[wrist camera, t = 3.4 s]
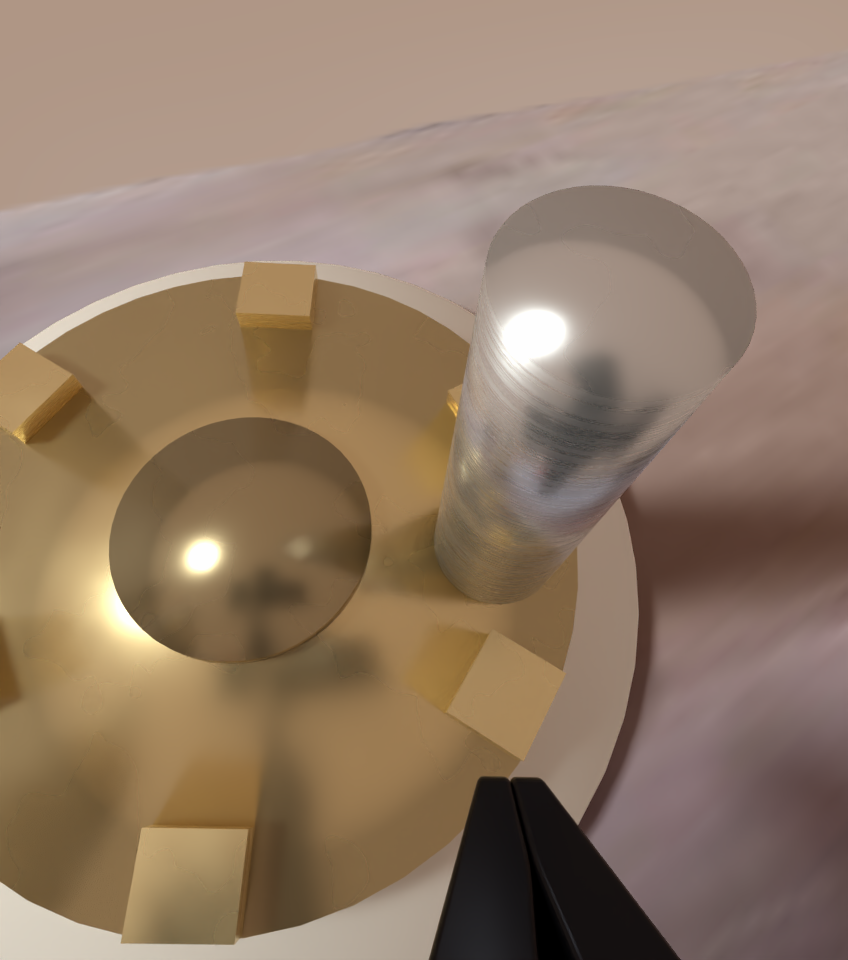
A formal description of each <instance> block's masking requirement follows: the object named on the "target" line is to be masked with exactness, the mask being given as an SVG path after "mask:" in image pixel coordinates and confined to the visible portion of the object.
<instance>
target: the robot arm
mask: <svg viewBox="0 0 848 960" xmlns="http://www.w3.org/2000/svg"><path fill="white" fill-rule="evenodd" d="M429 960H681V959H680V958H679V957H678V956H677V954H676V953H675V952H674V950H673V949H672V948H671V946H670V945H669V944H668V942H667V941H666V940H665V938H664V937H663V936H662V935H661V933H660V932H659V931H658V929H657V928H656V927H655V925H654V924H653V923H652V921H651V920H650V919H649V918H648V916H647V915H646V914H645V912H644V911H643V910H642V908H641V907H640V906H639V904H638V903H637V902H636V901H635V899H634V898H633V897H632V895H631V894H630V893H629V891H628V890H627V889H626V887H625V886H624V885H623V884H622V882H621V881H620V880H619V878H618V877H617V876H616V874H615V873H614V872H613V870H612V869H611V868H610V867H609V865H608V864H607V863H606V861H605V860H604V859H603V857H602V856H601V855H600V853H599V852H598V851H597V850H596V848H595V847H594V846H593V844H592V843H591V842H590V840H589V839H588V838H587V836H586V835H585V834H584V833H583V831H582V830H581V829H580V827H579V826H578V825H577V823H576V822H575V821H574V819H573V818H572V817H571V816H570V814H569V813H568V812H567V810H566V809H565V808H564V806H563V805H562V804H561V802H560V801H559V800H558V799H557V797H556V796H555V795H554V793H553V792H552V791H551V789H550V788H549V787H548V785H547V784H546V783H545V782H544V781H543V780H542V779H541V778H538V777H513V778H512V779H511V780H510V781H509V779H508V778H507V777H504V776H481V777H479V779H478V780H477V783H476V787H475V791H474V794H473V798H472V802H471V805H470V809H469V813H468V816H467V820H466V824H465V827H464V831H463V835H462V838H461V842H460V846H459V850H458V853H457V857H456V861H455V864H454V868H453V872H452V875H451V879H450V883H449V886H448V890H447V894H446V897H445V901H444V905H443V908H442V912H441V916H440V919H439V923H438V927H437V931H436V934H435V938H434V942H433V945H432V949H431V953H430V956H429Z"/></svg>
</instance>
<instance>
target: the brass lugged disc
mask: <svg viewBox="0 0 848 960" xmlns="http://www.w3.org/2000/svg"><path fill="white" fill-rule="evenodd" d="M755 322H756V300H755V294H754V289H753V286H752V283H751V280H750V277H749V275H748V273H747V271H746V269H745V267H744V265H743V263H742V261H741V260H740V258H739V257H738V255H737V254H736V252H735V251H734V249H733V248H732V247H731V246H730V245H729V243H728V242H727V241H726V240H725V239H724V238H723V237H722V236H721V235H720V234H719V233H718V232H717V231H716V230H715V229H714V228H713V227H711V226H710V225H709V224H707V223H706V222H705V221H703V220H702V219H701V218H700V217H698V216H696V215H695V214H693V213H692V212H690V211H688V210H687V209H685V208H683V207H681V206H679V205H677V204H675V203H673V202H671V201H669V200H666V199H663V198H661V197H658V196H656V195H653V194H649V193H646V192H642V191H639V190H634V189H628V188H623V187H614V186H581V187H572V188H567V189H562V190H558V191H555V192H552V193H549V194H545V195H543V196H541V197H539V198H537V199H534V200H532V201H531V202H529V203H527V204H526V205H524V206H522V207H521V208H519V209H518V210H517V211H516V212H515V213H513V214H512V215H511V216H510V217H509V218H508V219H507V220H506V221H505V222H504V224H503V225H502V226H501V227H500V229H499V230H498V232H497V233H496V235H495V236H494V238H493V241H492V243H491V245H490V248H489V250H488V255H487V259H486V263H485V269H484V274H483V279H482V284H481V290H480V295H479V300H478V306H477V311H476V316H475V322H474V327H473V332H472V338H471V343H470V344H469V343H467V342H466V341H465V340H464V339H462V338H461V337H460V336H458V335H457V334H456V333H454V332H453V331H452V330H450V329H449V328H447V327H445V326H444V325H442V324H440V323H439V322H437V321H435V320H434V319H432V318H430V317H428V316H427V315H425V314H423V313H422V312H420V311H418V310H416V309H413V308H411V307H409V306H407V305H404V304H402V303H400V302H398V301H395V300H393V299H391V298H389V297H386V296H383V295H380V294H376V293H373V292H370V291H367V290H364V289H361V288H358V287H355V286H350V285H345V284H340V283H335V282H330V281H326V280H321V279H318V276H317V270H316V265H302V264H282V263H261V262H245V263H244V268H243V274H242V276H241V277H231V278H221V279H211V280H206V281H201V282H196V283H191V284H186V285H181V286H177V287H172V288H169V289H166V290H163V291H159V292H156V293H153V294H150V295H146V296H143V297H140V298H137V299H134V300H132V301H130V302H127V303H125V304H122V305H120V306H118V307H115V308H113V309H110V310H108V311H105V312H103V313H101V314H99V315H97V316H95V317H93V318H92V319H90V320H88V321H86V322H84V323H82V324H80V325H78V326H77V327H75V328H73V329H71V330H69V331H67V332H66V333H64V334H63V335H61V336H60V337H58V338H57V339H55V340H54V341H52V342H51V343H49V344H48V345H46V346H45V347H43V348H42V349H40V350H39V351H37V352H35V351H33V350H32V349H30V348H28V347H27V346H25V345H23V344H22V343H19V344H18V345H17V346H16V347H15V348H13V349H12V350H11V351H10V352H9V353H8V354H7V355H6V356H5V357H4V358H2V359H1V360H0V882H1V883H3V884H4V885H6V886H7V887H9V888H10V889H11V890H13V891H14V892H16V893H17V894H19V895H20V896H22V897H23V898H25V899H26V900H28V901H30V902H32V903H34V904H36V905H38V906H41V907H43V908H45V909H47V910H49V911H52V912H54V913H56V914H58V915H60V916H63V917H65V918H67V919H69V920H72V921H74V922H76V923H79V924H83V925H87V926H90V927H94V928H98V929H102V930H106V931H110V932H113V933H117V934H121V935H122V938H121V944H206V945H235V944H236V942H237V941H238V940H239V939H240V938H247V937H252V936H256V935H261V934H265V933H270V932H274V931H279V930H283V929H288V928H292V927H297V926H301V925H304V924H306V923H309V922H311V921H314V920H317V919H319V918H322V917H324V916H327V915H330V914H332V913H335V912H338V911H340V910H343V909H345V908H348V907H351V906H353V905H355V904H357V903H359V902H361V901H362V900H364V899H366V898H368V897H370V896H371V895H373V894H375V893H377V892H379V891H380V890H382V889H384V888H386V887H388V886H389V885H391V884H393V883H395V882H397V881H398V880H400V879H402V878H404V877H405V876H406V875H408V874H409V873H410V872H412V871H413V870H414V869H416V868H417V867H418V866H420V865H421V864H422V863H424V862H425V861H426V860H428V859H429V858H430V857H432V856H433V855H434V854H436V853H437V852H438V851H440V850H441V849H442V848H444V847H445V846H446V845H448V844H449V843H450V842H451V841H452V840H453V839H454V838H455V837H456V836H457V835H458V834H459V833H460V832H461V831H462V830H463V829H464V827H465V824H466V820H467V816H468V813H469V809H470V805H471V802H472V798H473V794H474V791H475V787H476V783H477V780H478V779H479V777H481V776H504V777H507V778H508V777H509V776H510V775H511V773H512V772H513V771H514V769H515V768H516V767H517V766H518V764H519V762H520V761H524V760H525V758H526V755H527V753H528V751H529V749H530V747H531V745H532V743H533V741H534V739H535V737H536V735H537V733H538V731H539V729H540V727H541V724H542V722H543V720H544V718H545V716H546V714H547V712H548V710H549V708H550V706H551V704H552V702H553V700H554V698H555V696H556V694H557V691H558V689H559V687H560V685H561V683H562V681H563V679H564V677H565V675H566V673H565V672H563V668H564V664H565V660H566V656H567V653H568V649H569V645H570V641H571V637H572V633H573V626H574V618H575V609H576V601H577V592H578V562H577V546H578V545H579V544H580V543H581V541H582V540H583V539H584V538H585V537H586V536H587V535H588V533H589V532H590V531H591V530H592V529H593V528H594V526H595V525H596V524H597V523H598V522H599V521H600V520H601V518H602V517H603V516H604V515H605V514H606V513H607V512H608V510H609V509H610V508H611V507H612V506H613V505H614V504H615V502H616V501H617V500H618V499H619V498H620V497H621V495H622V494H623V493H624V492H625V491H626V490H627V489H628V487H629V486H630V485H631V484H632V483H633V482H634V481H635V479H636V478H637V477H638V476H639V475H640V474H641V472H642V471H643V470H644V469H645V468H646V467H647V466H648V464H649V463H650V462H651V461H652V460H653V459H654V458H655V456H656V455H657V454H658V453H659V452H660V451H661V450H662V448H663V447H664V446H665V445H666V444H667V443H668V441H669V440H670V439H671V438H672V437H673V436H674V435H675V433H676V432H677V431H678V430H679V429H680V428H681V427H682V425H683V424H684V423H685V422H686V421H687V420H688V418H689V417H690V416H691V415H692V414H693V413H694V412H695V410H696V409H697V408H698V407H699V406H700V405H701V404H702V402H703V401H704V400H705V399H706V398H707V397H708V396H709V394H710V393H711V392H712V391H713V390H714V389H715V387H716V386H717V385H718V384H719V383H720V382H721V381H722V379H723V378H724V377H725V376H726V375H727V374H728V373H729V371H730V370H731V369H732V368H733V367H734V366H735V364H736V363H737V362H738V361H739V360H740V358H741V357H742V356H743V354H744V353H745V351H746V349H747V347H748V346H749V344H750V341H751V338H752V335H753V333H754V328H755Z"/></svg>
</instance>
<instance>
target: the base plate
mask: <svg viewBox="0 0 848 960" xmlns="http://www.w3.org/2000/svg"><path fill="white" fill-rule="evenodd" d="M254 262H261V263H282V264H302V265H316V270H317V276H318V279H321V280H326V281H330V282H335V283H340V284H345V285H350V286H355V287H358V288H361V289H364V290H367V291H370V292H373V293H376V294H380V295H383V296H386V297H389V298H391V299H393V300H395V301H398V302H400V303H402V304H404V305H407V306H409V307H411V308H413V309H416V310H418V311H420V312H422V313H423V314H425V315H427V316H428V317H430V318H432V319H434V320H435V321H437V322H439V323H440V324H442V325H444V326H445V327H447V328H449V329H450V330H452V331H453V332H454V333H456V334H457V335H458V336H460V337H461V338H462V339H464V340H465V341H466V342H467V343H469V344H470V343H471V338H472V332H473V327H474V322H475V316H476V315H474V314H472V313H471V312H469V311H467V310H465V309H464V308H462V307H460V306H459V305H457V304H455V303H453V302H452V301H450V300H448V299H445V298H443V297H441V296H438V295H436V294H434V293H432V292H429V291H427V290H425V289H423V288H420V287H418V286H416V285H413V284H410V283H407V282H404V281H400V280H397V279H394V278H391V277H388V276H385V275H382V274H378V273H374V272H370V271H365V270H360V269H355V268H350V267H345V266H340V265H333V264H323V263H313V262H302V261H254ZM244 263H245V262H244ZM244 263H233V264H223V265H215V266H210V267H205V268H200V269H195V270H190V271H185V272H180V273H175V274H172V275H168V276H165V277H162V278H158V279H155V280H152V281H149V282H145V283H142V284H139V285H135V286H133V287H130V288H128V289H125V290H123V291H120V292H118V293H116V294H113V295H111V296H108V297H106V298H103V299H101V300H98V301H96V302H94V303H92V304H90V305H88V306H86V307H84V308H82V309H81V310H79V311H77V312H75V313H73V314H71V315H69V316H67V317H65V318H63V319H62V320H60V321H58V322H56V323H54V324H53V325H51V326H50V327H48V328H47V329H45V330H44V331H42V332H40V333H39V334H37V335H36V336H34V337H33V338H31V339H30V340H28V341H27V342H25V343H24V344H23V345H25V346H27V347H28V348H30V349H32V350H33V351H35V352H37V351H39V350H40V349H42V348H43V347H45V346H46V345H48V344H49V343H51V342H52V341H54V340H55V339H57V338H58V337H60V336H61V335H63V334H64V333H66V332H67V331H69V330H71V329H73V328H75V327H77V326H78V325H80V324H82V323H84V322H86V321H88V320H90V319H92V318H93V317H95V316H97V315H99V314H101V313H103V312H105V311H108V310H110V309H113V308H115V307H118V306H120V305H122V304H125V303H127V302H130V301H132V300H134V299H137V298H140V297H143V296H146V295H150V294H153V293H156V292H159V291H163V290H166V289H169V288H172V287H177V286H181V285H186V284H191V283H196V282H201V281H206V280H211V279H221V278H231V277H241V276H242V274H243V268H244ZM577 562H578V592H577V601H576V609H575V618H574V626H573V633H572V637H571V641H570V645H569V649H568V653H567V656H566V660H565V664H564V668H563V672H565V673H566V675H565V677H564V679H563V681H562V683H561V685H560V687H559V689H558V691H557V694H556V696H555V698H554V700H553V702H552V704H551V706H550V708H549V710H548V712H547V714H546V716H545V718H544V720H543V722H542V724H541V727H540V729H539V731H538V733H537V735H536V737H535V739H534V741H533V743H532V745H531V747H530V749H529V751H528V753H527V755H526V758H525V760H524V761H520V762H519V764H518V766H517V767H516V768H515V769H514V771H513V772H512V773H511V775H510V776H509V777H508V779H509V781H510V780H511V779H512V778H513V777H538V778H541V779H542V780H543V781H544V782H545V783H546V784H547V785H548V787H549V788H550V789H551V791H552V792H553V793H554V795H555V796H556V797H557V799H558V800H559V801H560V802H561V804H562V805H563V806H564V808H565V809H566V810H567V812H568V813H569V814H570V816H571V817H572V818H573V819H574V821H575V822H576V823H577V825H579V823H580V821H581V819H582V817H583V815H584V813H585V811H586V809H587V807H588V805H589V803H590V801H591V799H592V797H593V795H594V793H595V791H596V789H597V787H598V785H599V783H600V782H601V780H602V778H603V776H604V774H605V772H606V769H607V766H608V763H609V760H610V758H611V755H612V752H613V749H614V746H615V743H616V741H617V738H618V735H619V732H620V729H621V726H622V723H623V721H624V717H625V712H626V708H627V703H628V698H629V693H630V688H631V684H632V679H633V674H634V669H635V662H636V648H637V634H638V620H639V608H638V591H637V574H636V563H635V558H634V553H633V548H632V542H631V537H630V532H629V527H628V522H627V518H626V515H625V512H624V509H623V506H622V503H621V500H620V498H619V499H618V500H617V501H616V502H615V504H614V505H613V506H612V507H611V508H610V509H609V510H608V512H607V513H606V514H605V515H604V516H603V517H602V518H601V520H600V521H599V522H598V523H597V524H596V525H595V526H594V528H593V529H592V530H591V531H590V532H589V533H588V535H587V536H586V537H585V538H584V539H583V540H582V541H581V543H580V544H579V545H578V546H577ZM463 831H464V829H463V830H462V831H461V832H460V833H459V834H458V835H457V836H456V837H455V838H454V839H453V840H452V841H451V842H450V843H449V844H448V845H446V846H445V847H444V848H442V849H441V850H440V851H438V852H437V853H436V854H434V855H433V856H432V857H430V858H429V859H428V860H426V861H425V862H424V863H422V864H421V865H420V866H418V867H417V868H416V869H414V870H413V871H412V872H410V873H409V874H408V875H406V876H405V877H404V878H402V879H400V880H398V881H397V882H395V883H393V884H391V885H389V886H388V887H386V888H384V889H382V890H380V891H379V892H377V893H375V894H373V895H371V896H370V897H368V898H366V899H364V900H362V901H361V902H359V903H357V904H355V905H353V906H351V907H348V908H345V909H343V910H340V911H338V912H335V913H332V914H330V915H327V916H324V917H322V918H319V919H317V920H314V921H311V922H309V923H306V924H304V925H301V926H297V927H292V928H288V929H283V930H279V931H274V932H270V933H265V934H261V935H256V936H252V937H247V938H240V939H239V940H238V941H237V942H236V944H235V945H206V944H121V938H122V935H121V934H117V933H113V932H110V931H106V930H102V929H98V928H94V927H90V926H87V925H83V924H79V923H76V922H74V921H72V920H69V919H67V918H65V917H63V916H60V915H58V914H56V913H54V912H52V911H49V910H47V909H45V908H43V907H41V906H38V905H36V904H34V903H32V902H30V901H28V900H26V899H25V898H23V897H22V896H20V895H19V894H17V893H16V892H14V891H13V890H11V889H10V888H9V887H7V886H6V885H4V884H3V883H1V882H0V960H429V956H430V953H431V949H432V945H433V942H434V938H435V934H436V931H437V927H438V923H439V919H440V916H441V912H442V908H443V905H444V901H445V897H446V894H447V890H448V886H449V883H450V879H451V875H452V872H453V868H454V864H455V861H456V857H457V853H458V850H459V846H460V842H461V838H462V835H463Z"/></svg>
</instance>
